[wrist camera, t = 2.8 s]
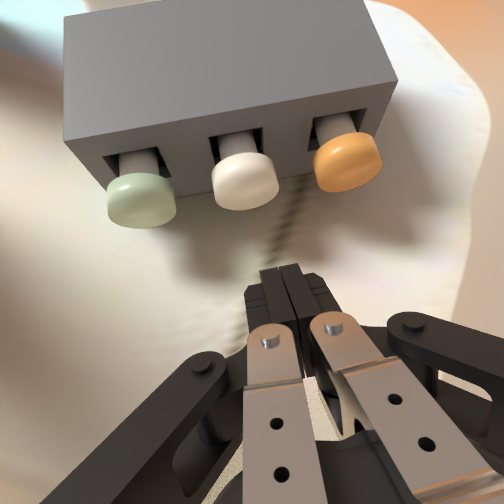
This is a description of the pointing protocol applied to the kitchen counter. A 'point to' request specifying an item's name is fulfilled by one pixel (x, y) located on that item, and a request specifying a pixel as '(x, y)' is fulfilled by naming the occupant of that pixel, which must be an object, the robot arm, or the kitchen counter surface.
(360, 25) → the control box
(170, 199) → the button green
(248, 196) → the button cream
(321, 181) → the button orange
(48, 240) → the kitchen counter surface
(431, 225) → the kitchen counter surface
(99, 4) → the can
